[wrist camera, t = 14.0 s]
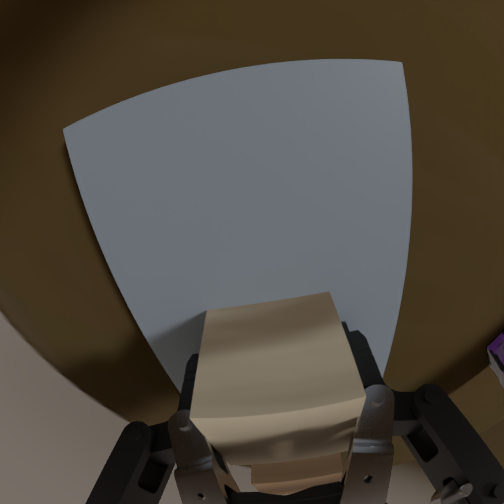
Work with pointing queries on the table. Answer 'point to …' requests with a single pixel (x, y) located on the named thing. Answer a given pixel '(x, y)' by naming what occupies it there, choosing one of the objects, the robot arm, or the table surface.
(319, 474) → the walnut block
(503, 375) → the candy box
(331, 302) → the birch block
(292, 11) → the table surface
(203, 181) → the board
